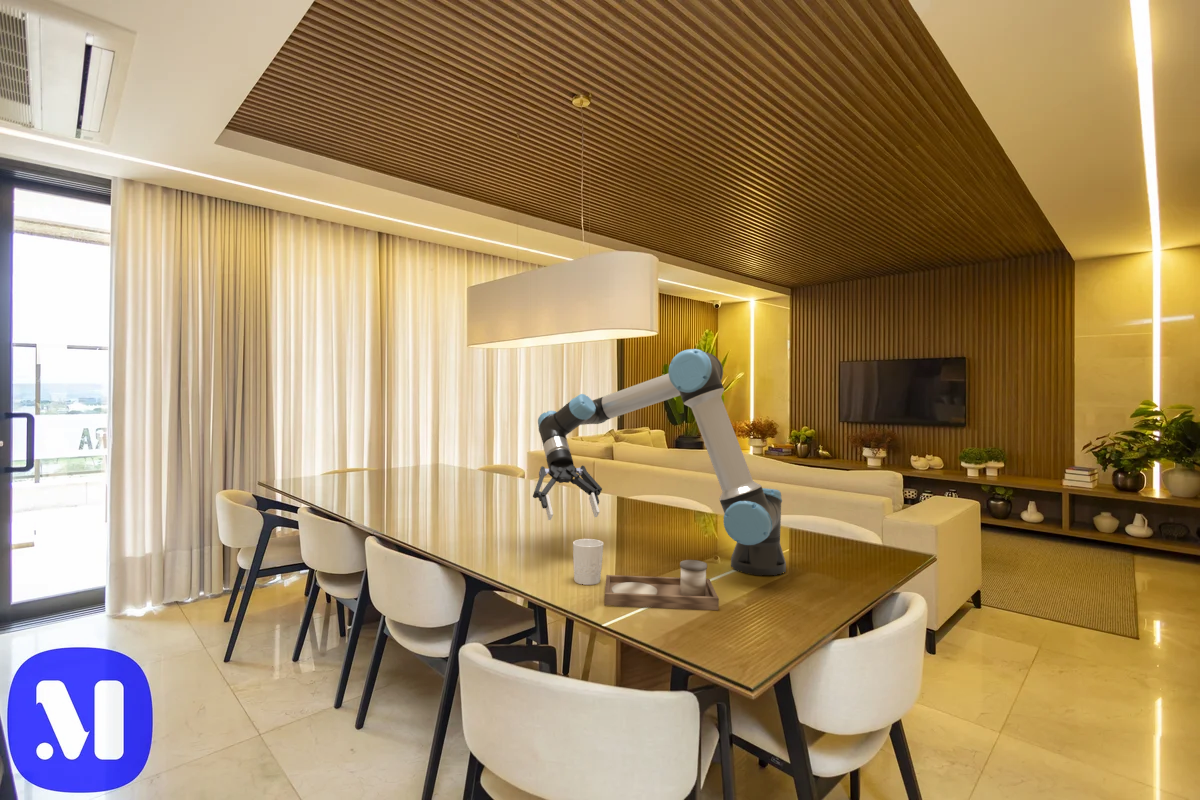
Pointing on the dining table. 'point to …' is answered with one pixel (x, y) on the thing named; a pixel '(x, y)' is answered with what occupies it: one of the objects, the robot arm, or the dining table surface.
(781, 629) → the dining table surface
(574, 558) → the white cup
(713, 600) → the tray
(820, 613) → the dining table surface
